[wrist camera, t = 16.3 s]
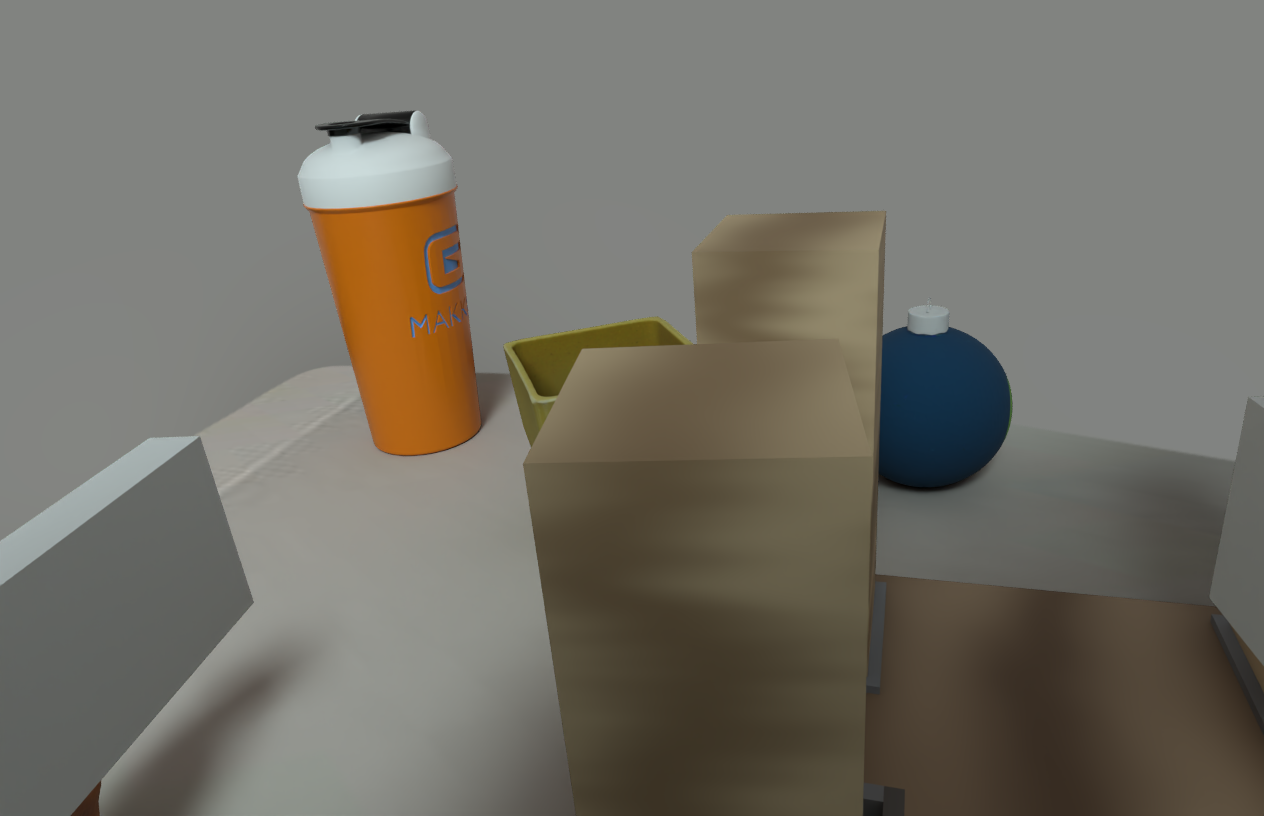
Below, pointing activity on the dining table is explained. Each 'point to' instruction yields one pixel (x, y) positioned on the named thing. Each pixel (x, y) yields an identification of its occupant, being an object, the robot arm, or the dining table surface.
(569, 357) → the flower pot
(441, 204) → the shaker bottle
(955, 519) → the dining table surface
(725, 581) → the stool leg
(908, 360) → the christmas ornament
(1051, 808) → the tan post-studded fixture
